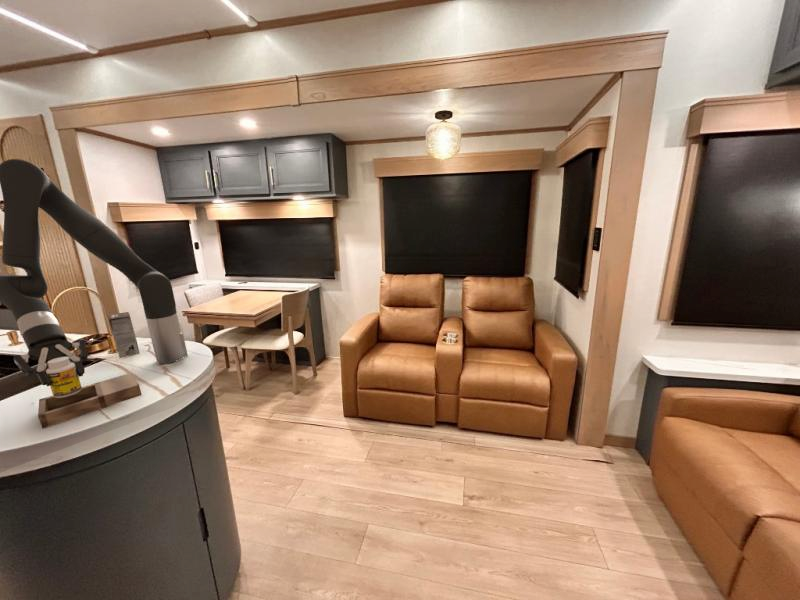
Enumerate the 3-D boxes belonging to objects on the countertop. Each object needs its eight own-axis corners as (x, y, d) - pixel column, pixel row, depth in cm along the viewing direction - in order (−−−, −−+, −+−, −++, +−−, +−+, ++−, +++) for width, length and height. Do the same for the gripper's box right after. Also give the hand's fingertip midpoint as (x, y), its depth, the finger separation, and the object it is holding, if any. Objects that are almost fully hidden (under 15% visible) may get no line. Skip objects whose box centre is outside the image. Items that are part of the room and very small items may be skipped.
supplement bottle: (50, 401, 84) (39, 366, 81) (57, 392, 88) (46, 358, 86) (79, 394, 87) (69, 360, 84) (84, 386, 91) (75, 353, 89)
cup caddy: (134, 382, 103) (132, 372, 102) (141, 395, 94) (139, 384, 94) (43, 410, 88) (39, 399, 88) (42, 428, 80) (37, 416, 79)
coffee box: (118, 352, 129) (107, 314, 125) (138, 347, 133) (128, 311, 129) (119, 358, 123) (108, 319, 119) (140, 353, 127) (130, 315, 123)
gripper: (0, 331, 81) (24, 384, 77) (77, 316, 93) (101, 362, 89) (3, 346, 85) (26, 398, 82) (76, 330, 97) (99, 375, 93)
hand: (65, 379), depth 85 cm, fingers closed on supplement bottle, 5 cm apart
